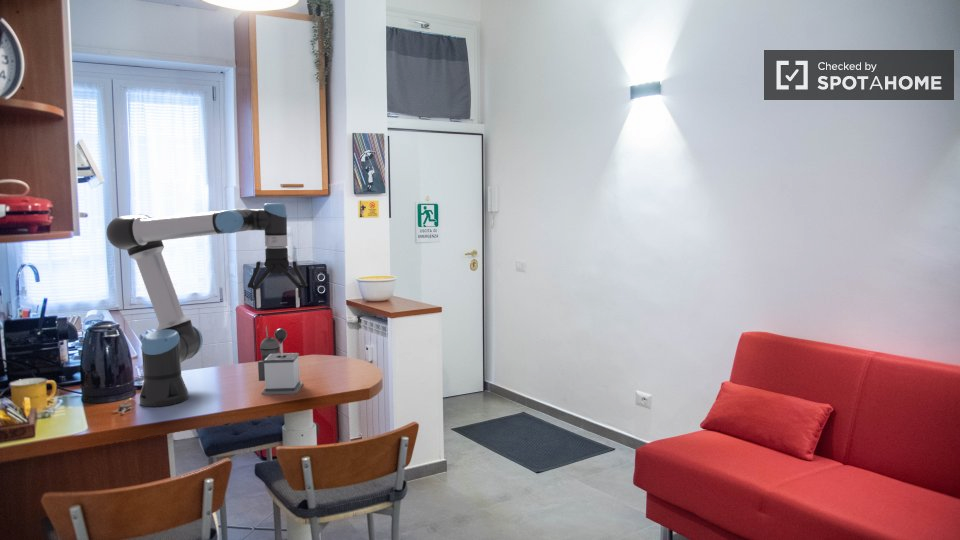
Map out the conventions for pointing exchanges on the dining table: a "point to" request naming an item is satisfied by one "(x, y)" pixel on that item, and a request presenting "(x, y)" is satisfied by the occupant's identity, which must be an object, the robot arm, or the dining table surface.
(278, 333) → the lever with ball knob
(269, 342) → the beverage cup
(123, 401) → the dining table surface
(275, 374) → the grey cube on plate
